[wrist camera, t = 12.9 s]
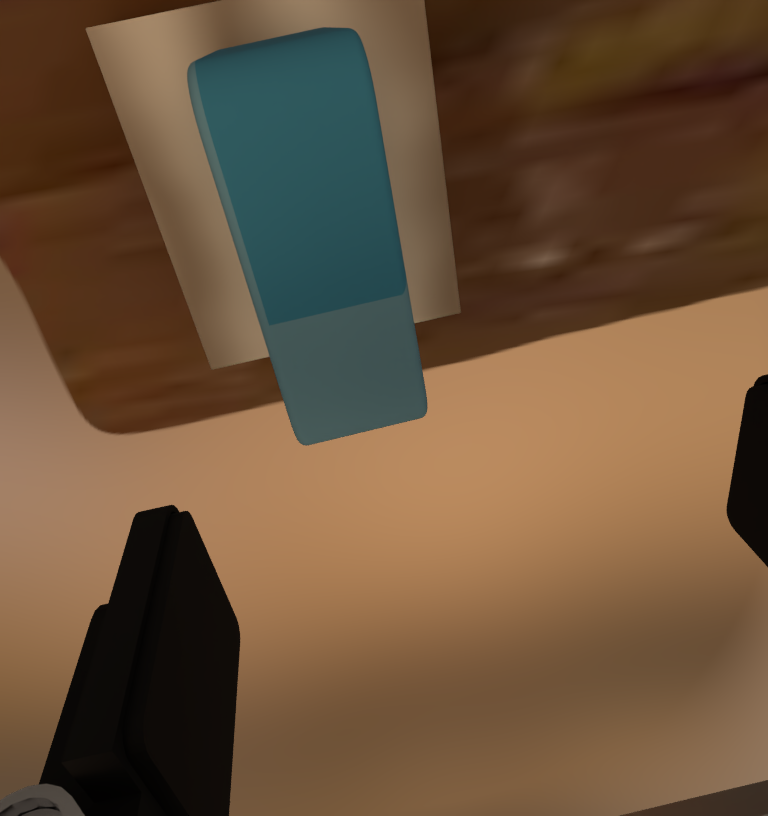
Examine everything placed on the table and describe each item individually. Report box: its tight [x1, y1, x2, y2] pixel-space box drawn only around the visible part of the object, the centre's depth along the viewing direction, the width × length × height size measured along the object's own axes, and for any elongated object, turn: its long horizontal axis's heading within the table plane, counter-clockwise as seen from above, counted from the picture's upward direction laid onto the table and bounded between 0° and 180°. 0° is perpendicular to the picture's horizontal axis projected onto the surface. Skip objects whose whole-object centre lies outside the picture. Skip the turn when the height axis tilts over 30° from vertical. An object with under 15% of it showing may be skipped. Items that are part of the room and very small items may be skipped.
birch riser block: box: [86, 0, 461, 370], centre depth 30 cm, size 13×15×5 cm
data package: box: [187, 27, 427, 445], centre depth 23 cm, size 12×4×12 cm, turn 10°
